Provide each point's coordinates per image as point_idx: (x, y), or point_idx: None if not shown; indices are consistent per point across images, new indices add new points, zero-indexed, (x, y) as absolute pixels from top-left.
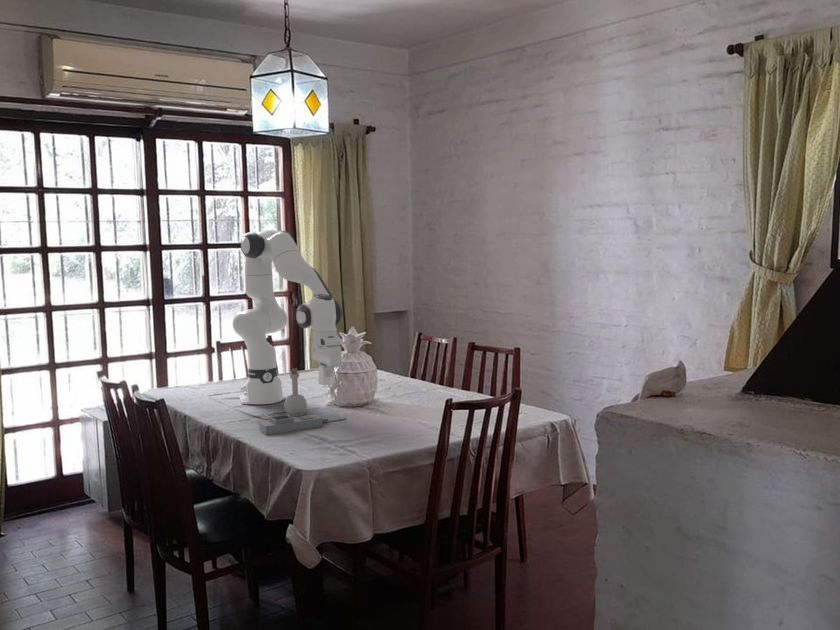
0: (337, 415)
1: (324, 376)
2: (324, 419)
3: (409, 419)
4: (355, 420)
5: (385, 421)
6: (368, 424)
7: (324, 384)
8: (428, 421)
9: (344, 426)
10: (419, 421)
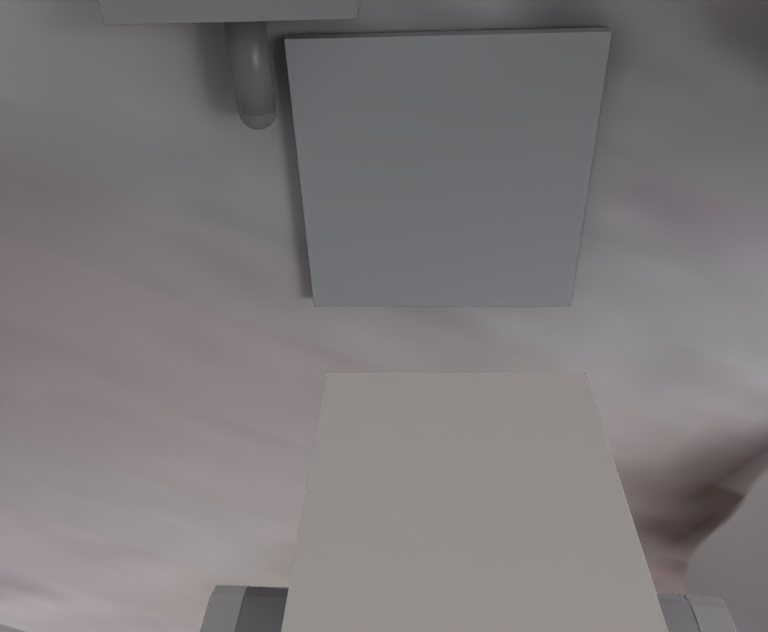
0: (461, 288)
1: (302, 547)
2: (236, 83)
3: (123, 580)
4: (252, 348)
5: (125, 479)
6: (72, 371)
7: (324, 399)
8: (36, 618)
9: (64, 197)
10: (51, 594)
